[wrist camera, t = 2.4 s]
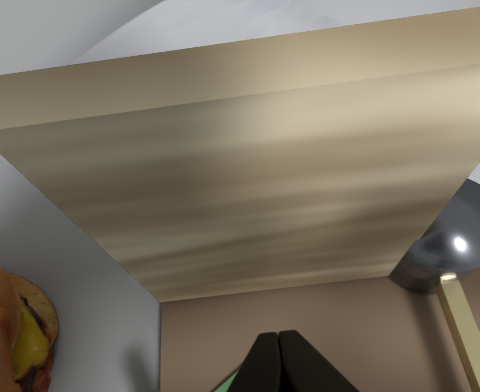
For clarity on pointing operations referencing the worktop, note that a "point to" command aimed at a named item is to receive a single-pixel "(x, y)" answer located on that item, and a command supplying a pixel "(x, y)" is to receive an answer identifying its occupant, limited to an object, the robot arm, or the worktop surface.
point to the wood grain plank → (271, 160)
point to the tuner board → (319, 334)
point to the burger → (25, 335)
